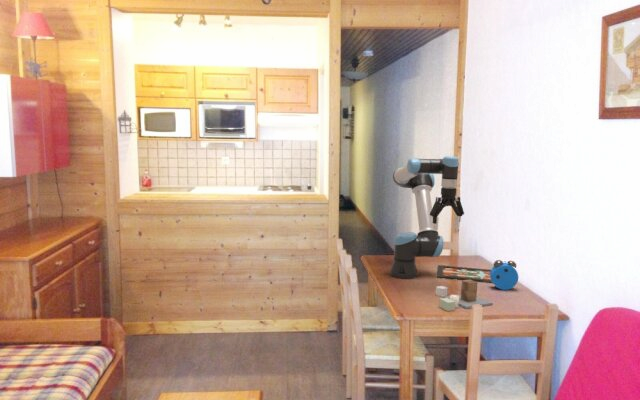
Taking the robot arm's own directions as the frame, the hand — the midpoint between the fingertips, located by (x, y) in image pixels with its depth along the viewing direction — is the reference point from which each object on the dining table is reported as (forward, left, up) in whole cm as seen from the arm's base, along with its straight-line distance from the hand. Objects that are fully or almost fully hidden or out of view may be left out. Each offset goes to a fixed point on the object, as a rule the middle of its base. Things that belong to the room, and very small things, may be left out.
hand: (446, 229), depth 270 cm
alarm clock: (+12, +30, -31) cm, 45 cm away
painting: (-16, +32, -31) cm, 48 cm away
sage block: (+26, -19, -31) cm, 45 cm away
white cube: (+9, -8, -31) cm, 33 cm away
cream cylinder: (+25, -14, -31) cm, 42 cm away
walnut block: (+22, -3, -30) cm, 37 cm away
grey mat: (+22, -3, -31) cm, 38 cm away
